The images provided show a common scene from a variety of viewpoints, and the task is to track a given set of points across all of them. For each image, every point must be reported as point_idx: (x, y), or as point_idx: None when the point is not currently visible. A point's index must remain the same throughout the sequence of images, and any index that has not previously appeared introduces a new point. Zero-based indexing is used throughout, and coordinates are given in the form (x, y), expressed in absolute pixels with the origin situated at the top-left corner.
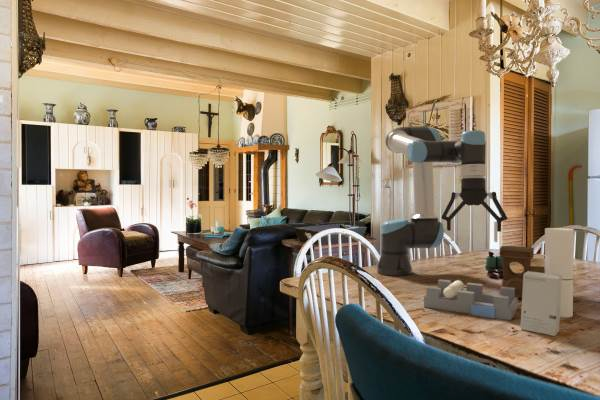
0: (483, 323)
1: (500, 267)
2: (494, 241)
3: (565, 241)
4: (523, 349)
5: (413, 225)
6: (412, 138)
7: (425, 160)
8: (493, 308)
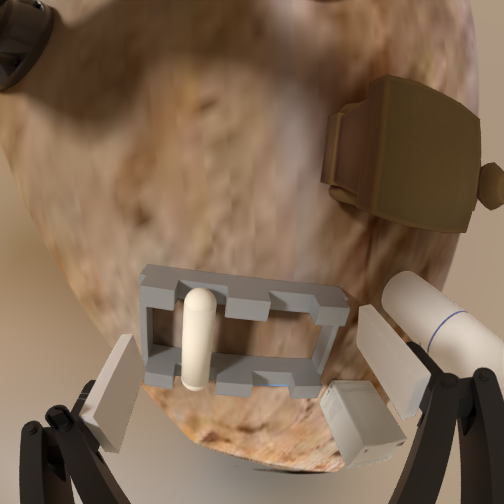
0: (266, 400)
1: None
2: (358, 325)
3: None
4: (307, 445)
5: None
6: None
7: None
8: (287, 385)
